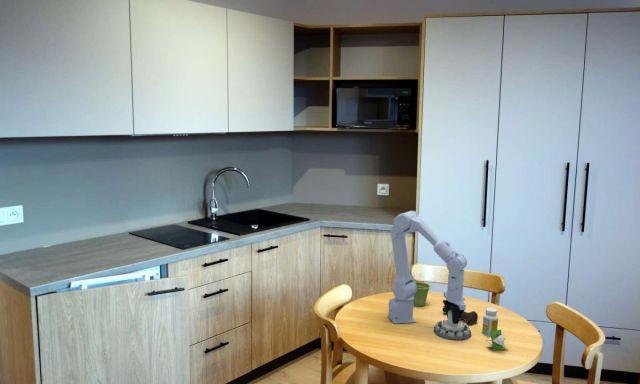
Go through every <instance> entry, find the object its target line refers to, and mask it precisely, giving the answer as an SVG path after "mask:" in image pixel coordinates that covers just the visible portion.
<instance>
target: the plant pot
mask: <svg viewBox="0 0 640 384" xmlns="http://www.w3.org/2000/svg"><path fill="white" fill-rule="evenodd" d="M414 282H415V284H416V286H417V291H416V293H415V294H414V303H413V306H415V307H424V306H426V302H427V298H428V294H429V291H430V289H431V284H429V283H426V282H423V281H414Z"/></svg>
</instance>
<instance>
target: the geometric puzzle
mask: <svg viewBox="0 0 640 384" xmlns="http://www.w3.org/2000/svg"><path fill="white" fill-rule="evenodd" d="M490 332H491V336H490V335H489V336H488V337H491V338H490V339H485V342H488V343H489V342H491V344H490V346H492V347H491V349H492V350H493V351H495V350H504V349H505V338H504V335H503V332H502V329H497V330H492V331H490ZM489 334H490V333H489Z"/></svg>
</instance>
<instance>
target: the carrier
mask: <svg viewBox="0 0 640 384" xmlns="http://www.w3.org/2000/svg"><path fill="white" fill-rule="evenodd" d="M444 321H448V319H444V320H439V321H436V322H435V325H434V326H433V333H434V334H435V335H436V336H437V337H439V338H442V339H446V340H449V341H450V340H451V341H466V340H469V339H470V338H471V337H472V331H471V330H470V328H471V327H469V326H470V325H469V324H465V323H464V322H463V321H459V323H460V324H463V326H464V330H461V332H459V331H455V332H452V331H446V329H442V326H441V323H442V322H444Z"/></svg>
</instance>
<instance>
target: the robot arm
mask: <svg viewBox="0 0 640 384" xmlns="http://www.w3.org/2000/svg"><path fill="white" fill-rule="evenodd" d="M409 231H411V232H418V233H419V234H420V235H421V236H423V237H424V239H425V240H427V241H428V242H429V243H430V244H431V245H432V246H433V252H435V254H437V256H438V257H439V258H440V259H441V260H442V261H443V262H444V263H445V264H446V268H447V270H448V276H447V289H446V290H447V291H443V298H445V299H443V300H442V303H443V306H445V308H446V313H445V314H446V318H447V319H446V320H448V311H449V310H451V312H452V322H453V324H458V323H459V322H460V320H461V318H460V317H461V315H462V313H463V312H464V311H465V310H466V306H467V304H466V303H465V300H466V298H465V297H464V296H463V295H464V294H463V293H464V282H465V268H466V267H467V264H468V260H467V258H466V257H465V255H463V254H461V253H459V252H458V251H456V250H455V249H454V248H453V247H452V246H451V243H450V242H449V241H447V240H445V239H444V240H443V239H440V238H439V236H438V235H437V234H436V233H435V232H434V230H432V229H431V228H430V226H429V225H428V224H427V223H426V222H425V220H424V218H423V217H422V216H421V215H419V213H418V212H416V211H415V210H408V211H406V212H402V213H399V214H398V215H397V216H395V218H393V225H392V227H391V230H390V237H391V245H392V252H393V258H394V267H395V273H396V276H395V279H394V281H393V284H394V285H393V290H392V291H393V292H392V293H393V296H394V297H393V298H390V299H389V300H388V315H387V317H388V319H389V320H390V321H391V322H392V323H393V324H411V323H413V324H414V323H417V321H416V319H415V318H414V305H413V303H414V294H415V293H416V291H417V286H416V284H415V282H416V281H415V279H414V276H413V275H412V274H411V271H410V263H409V256H408V249H407V242H406V234H407V233H408V232H409Z"/></svg>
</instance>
